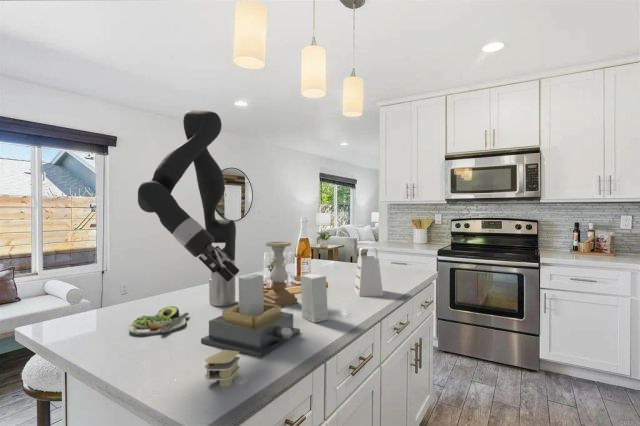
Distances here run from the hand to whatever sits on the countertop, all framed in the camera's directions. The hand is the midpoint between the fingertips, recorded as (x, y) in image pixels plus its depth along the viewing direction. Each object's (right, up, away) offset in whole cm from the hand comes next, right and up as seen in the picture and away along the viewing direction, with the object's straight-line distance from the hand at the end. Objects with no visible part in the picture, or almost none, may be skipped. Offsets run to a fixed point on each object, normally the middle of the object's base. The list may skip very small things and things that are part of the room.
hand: (234, 276), depth 98 cm
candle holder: (+8, -18, +37) cm, 42 cm away
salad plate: (-27, -19, +12) cm, 35 cm away
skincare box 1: (+5, -12, 0) cm, 13 cm away
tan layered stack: (+4, -19, -24) cm, 31 cm away
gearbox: (+6, -18, 0) cm, 19 cm away
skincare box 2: (+23, -18, +17) cm, 34 cm away
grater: (+46, -17, +51) cm, 71 cm away
